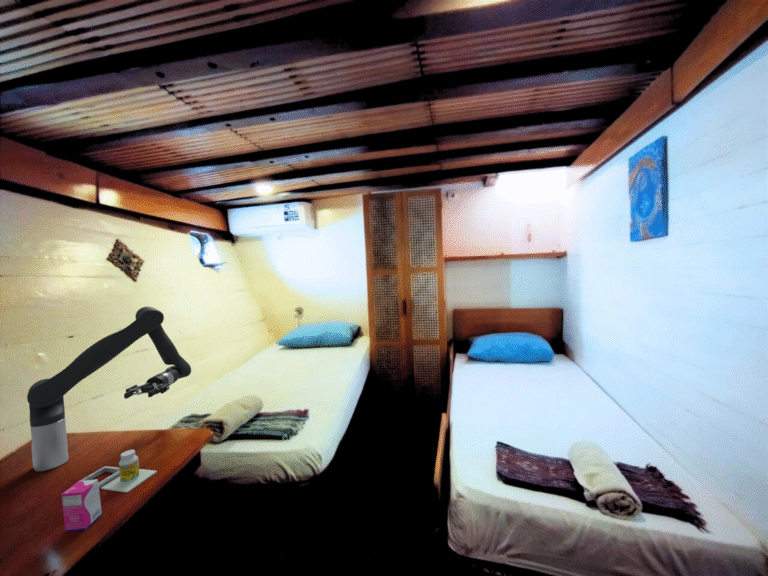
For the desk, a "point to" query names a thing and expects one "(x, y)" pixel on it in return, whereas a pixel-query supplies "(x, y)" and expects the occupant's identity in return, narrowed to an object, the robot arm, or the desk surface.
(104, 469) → the square frame
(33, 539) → the desk surface
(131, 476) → the supplement bottle
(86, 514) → the supplement box
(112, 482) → the pad
